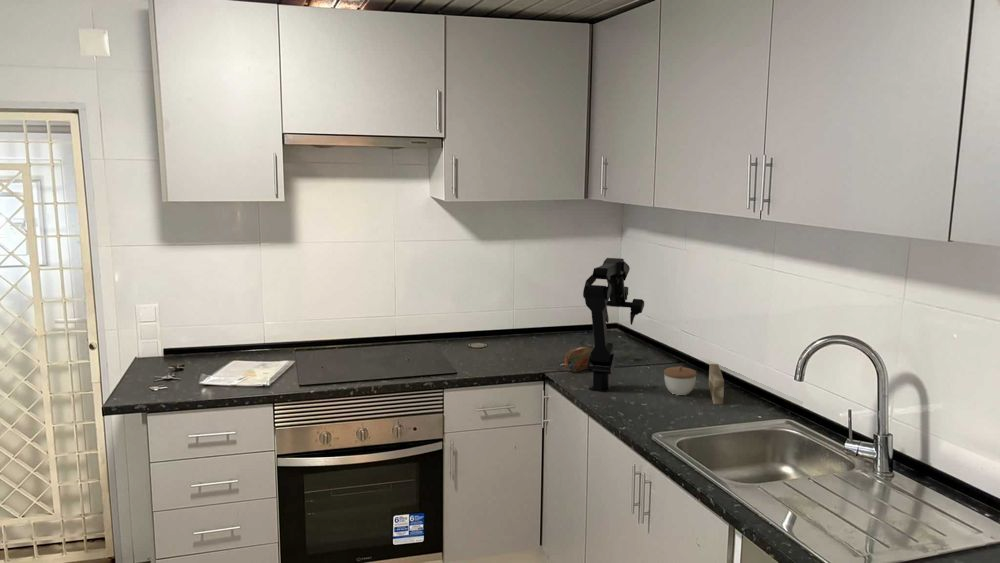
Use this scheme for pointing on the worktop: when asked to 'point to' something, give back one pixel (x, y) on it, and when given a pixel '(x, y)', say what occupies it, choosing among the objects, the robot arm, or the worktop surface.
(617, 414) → the worktop surface
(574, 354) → the tin
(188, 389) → the worktop surface
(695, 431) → the worktop surface
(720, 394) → the birch board
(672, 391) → the lidded jar
